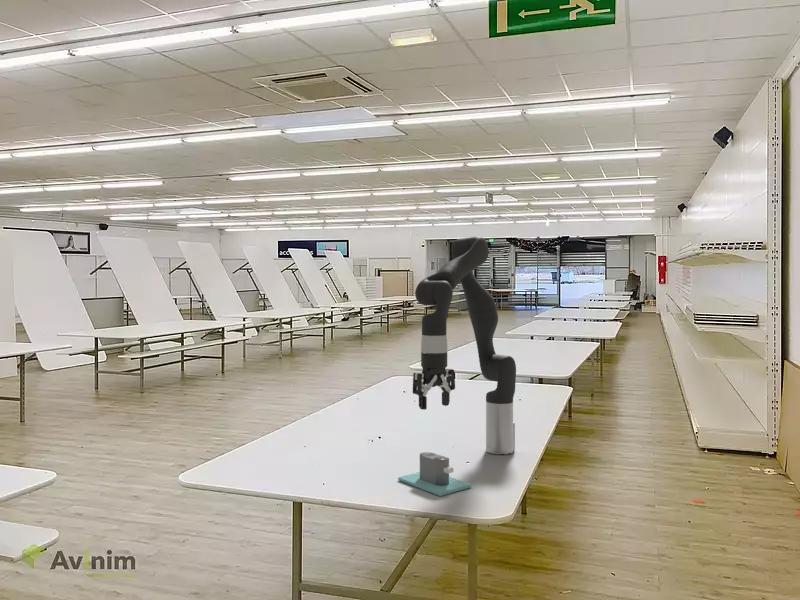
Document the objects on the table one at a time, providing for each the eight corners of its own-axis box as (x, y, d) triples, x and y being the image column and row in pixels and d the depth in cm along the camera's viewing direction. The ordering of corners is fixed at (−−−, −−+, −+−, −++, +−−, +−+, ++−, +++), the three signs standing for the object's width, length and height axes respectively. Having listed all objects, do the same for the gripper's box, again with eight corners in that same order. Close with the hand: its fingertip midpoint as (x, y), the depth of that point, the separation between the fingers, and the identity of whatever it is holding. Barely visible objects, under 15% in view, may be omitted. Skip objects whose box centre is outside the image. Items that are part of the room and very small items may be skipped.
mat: (429, 472, 188) (429, 469, 188) (471, 487, 174) (471, 484, 174) (398, 480, 181) (398, 477, 181) (440, 496, 167) (440, 493, 167)
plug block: (427, 474, 183) (427, 451, 183) (456, 485, 174) (456, 460, 173) (416, 477, 180) (416, 453, 180) (444, 488, 171) (444, 463, 171)
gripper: (443, 348, 184) (443, 402, 184) (406, 351, 175) (406, 408, 176) (461, 350, 178) (461, 406, 179) (424, 353, 169) (424, 412, 170)
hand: (434, 407), depth 177 cm, fingers open, 8 cm apart
